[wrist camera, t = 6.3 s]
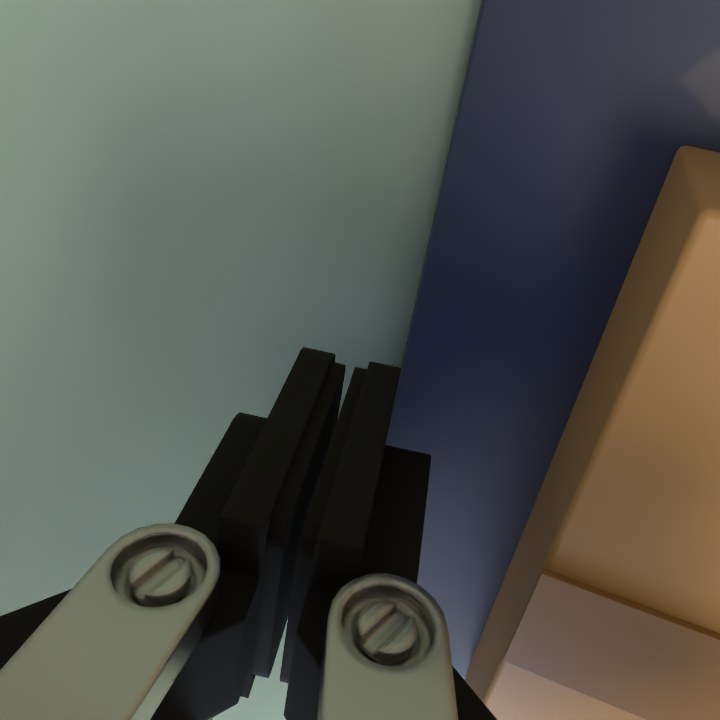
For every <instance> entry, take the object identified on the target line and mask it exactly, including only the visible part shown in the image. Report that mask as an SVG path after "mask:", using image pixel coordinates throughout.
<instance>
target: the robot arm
mask: <svg viewBox="0 0 720 720" xmlns="http://www.w3.org/2000/svg"><path fill="white" fill-rule="evenodd" d="M345 368H346V366H345V365H344V364H339V363H335V354H333V353H329V352H324V351H319V350H315V349H310V348H305V347H303V348H302V349H301V351H300V353H299V355H298V357H297V359H296V361H295V363H294V365H293V367H292V369H291V371H290V373H289V375H288V377H287V379H286V381H285V383H284V385H283V388H282V390H281V392H280V394H279V396H278V398H277V400H276V402H275V404H274V406H273V408H272V410H271V412H270V414H269V416H268V418H263V417H259V416H254V415H250V414H245V413H241V412H240V413H238V414H237V415H236V416H235V418H234V419H233V421H232V422H231V424H230V426H229V428H228V430H227V431H226V433H225V435H224V437H223V438H222V440H221V442H220V444H219V446H218V447H217V449H216V451H215V453H214V454H213V456H212V458H211V460H210V462H209V463H208V465H207V467H206V469H205V470H204V472H203V474H202V476H201V478H200V479H199V481H198V483H197V485H196V486H195V488H194V490H193V492H192V493H191V495H190V497H189V499H188V501H187V502H186V504H185V506H184V508H183V509H182V511H181V513H180V515H179V517H178V518H177V520H176V522H175V524H153V525H149V526H145V527H141V528H138V529H136V530H134V531H131V532H129V533H127V534H125V535H123V536H122V537H120V538H119V539H118V540H117V541H116V542H115V543H113V544H112V545H111V546H110V547H109V548H108V549H107V550H106V551H105V552H104V553H103V555H102V556H101V557H100V558H99V559H98V560H97V561H96V562H95V564H94V565H93V566H92V567H91V568H90V569H89V570H88V572H87V573H86V574H85V575H84V576H83V577H82V578H81V579H80V581H79V582H78V583H77V584H76V585H75V586H74V587H73V588H72V589H70V590H68V591H65V592H62V593H60V594H57V595H55V596H52V597H49V598H47V599H44V600H42V601H39V602H36V603H34V604H31V605H29V606H26V607H23V608H21V609H18V610H16V611H13V612H10V613H8V614H5V615H3V616H0V720H212V719H213V717H214V716H216V715H218V714H219V713H221V712H223V711H225V710H227V709H229V708H230V707H232V706H234V705H236V704H238V701H239V698H240V696H242V697H246V698H248V697H249V694H250V691H251V688H252V685H253V682H254V679H255V676H256V675H258V676H262V677H266V678H268V677H269V676H270V673H271V670H272V667H273V664H274V661H275V657H276V654H277V651H278V648H279V644H280V641H281V638H282V635H283V631H284V628H285V625H286V621H287V618H288V623H287V631H286V638H285V645H284V652H283V660H282V667H281V674H280V681H282V682H286V683H289V684H288V691H287V697H286V704H285V710H284V716H285V718H286V720H497V719H496V718H495V716H494V715H493V714H492V713H491V712H490V710H489V709H488V708H487V707H486V705H485V704H484V703H483V702H482V701H481V699H480V698H479V697H478V696H477V695H476V693H475V692H474V691H473V690H472V689H471V687H470V686H469V685H468V684H467V682H466V681H465V680H464V679H463V678H462V676H461V675H460V674H459V673H458V672H457V670H456V669H455V668H454V667H453V666H452V659H451V650H450V641H449V632H448V626H447V623H446V619H445V616H444V612H443V611H442V609H441V608H440V606H439V605H438V603H437V602H436V600H435V599H434V597H433V596H431V595H430V594H429V593H428V592H427V591H426V590H425V589H424V588H422V587H421V586H420V585H418V584H417V580H418V572H419V563H420V554H421V545H422V536H423V527H424V519H425V510H426V501H427V492H428V483H429V474H430V466H431V455H430V454H425V453H421V452H416V451H412V450H407V449H403V448H398V447H394V446H389V445H385V443H386V438H387V434H388V429H389V424H390V420H391V415H392V410H393V406H394V401H395V396H396V392H397V387H398V382H399V378H400V373H401V368H399V367H394V366H389V365H385V364H380V363H375V362H371V361H370V362H369V365H368V368H367V369H362V368H358V367H355V369H354V372H353V375H352V378H351V381H350V384H349V387H348V390H347V393H346V396H345V399H344V402H343V405H342V408H341V411H340V414H339V417H338V413H339V407H340V400H341V394H342V388H343V382H344V375H345ZM337 419H338V420H337ZM288 615H289V616H288Z"/></svg>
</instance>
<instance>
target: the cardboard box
mask: <svg viewBox="0 0 720 720" xmlns="http://www.w3.org/2000/svg"><path fill="white" fill-rule="evenodd" d="M465 681H466V682H467V684H468V685H469V686H470V687H471V689H472V690H473V691H474V692H475V693H476V695H477V696H478V697H479V698H480V699H481V701H482V702H483V703H484V704H485V705H486V707H487V708H488V709H489V710H490V712H491V713H492V714H493V715H494V716H495V718H496V719H497V720H720V153H719V152H714V151H710V150H705V149H701V148H696V147H692V146H681V147H680V148H679V149H678V150H677V152H676V154H675V157H674V159H673V162H672V164H671V167H670V169H669V172H668V174H667V176H666V179H665V181H664V184H663V186H662V189H661V191H660V194H659V196H658V199H657V201H656V204H655V206H654V209H653V211H652V214H651V216H650V219H649V221H648V224H647V226H646V229H645V231H644V233H643V236H642V238H641V241H640V243H639V246H638V248H637V251H636V253H635V256H634V258H633V261H632V263H631V266H630V268H629V271H628V273H627V276H626V278H625V281H624V283H623V286H622V288H621V290H620V293H619V295H618V298H617V300H616V303H615V305H614V308H613V310H612V313H611V315H610V318H609V320H608V323H607V325H606V328H605V330H604V333H603V335H602V338H601V340H600V343H599V345H598V347H597V350H596V352H595V355H594V357H593V360H592V362H591V365H590V367H589V370H588V372H587V375H586V377H585V380H584V382H583V385H582V387H581V390H580V392H579V395H578V397H577V399H576V402H575V404H574V407H573V409H572V412H571V414H570V417H569V419H568V422H567V424H566V427H565V429H564V432H563V434H562V437H561V439H560V442H559V444H558V447H557V449H556V452H555V454H554V456H553V459H552V461H551V464H550V466H549V469H548V471H547V474H546V476H545V479H544V481H543V484H542V486H541V489H540V491H539V494H538V496H537V499H536V501H535V504H534V506H533V509H532V511H531V513H530V516H529V518H528V521H527V523H526V526H525V528H524V531H523V533H522V536H521V538H520V541H519V543H518V546H517V548H516V551H515V553H514V556H513V558H512V561H511V563H510V566H509V568H508V570H507V573H506V575H505V578H504V580H503V583H502V585H501V588H500V590H499V593H498V595H497V598H496V600H495V603H494V605H493V608H492V610H491V613H490V615H489V618H488V620H487V623H486V625H485V627H484V630H483V632H482V635H481V637H480V640H479V642H478V645H477V647H476V650H475V652H474V655H473V657H472V660H471V662H470V665H469V667H468V670H467V674H466V679H465Z"/></svg>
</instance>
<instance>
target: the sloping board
mask: <svg viewBox="0 0 720 720" xmlns="http://www.w3.org/2000/svg"><path fill="white" fill-rule="evenodd" d="M681 146H692V147H696V148H701V149H705V150H710V151H714V152H719V153H720V0H482V1H481V6H480V10H479V15H478V19H477V24H476V28H475V33H474V37H473V42H472V46H471V51H470V55H469V60H468V64H467V69H466V73H465V78H464V83H463V87H462V92H461V96H460V101H459V105H458V110H457V114H456V119H455V123H454V128H453V132H452V137H451V141H450V146H449V151H448V155H447V160H446V164H445V169H444V173H443V178H442V182H441V187H440V191H439V196H438V200H437V205H436V209H435V214H434V219H433V223H432V228H431V232H430V237H429V241H428V246H427V250H426V255H425V259H424V264H423V268H422V273H421V277H420V282H419V287H418V291H417V296H416V300H415V305H414V309H413V314H412V318H411V323H410V327H409V332H408V336H407V341H406V345H405V350H404V355H403V359H402V364H401V373H400V378H399V382H398V387H397V392H396V396H395V401H394V406H393V410H392V415H391V420H390V424H389V429H388V434H387V438H386V443H385V445H389V446H394V447H398V448H403V449H407V450H412V451H416V452H421V453H425V454H430V455H431V466H430V474H429V483H428V492H427V501H426V510H425V519H424V527H423V536H422V545H421V554H420V563H419V572H418V580H417V584H418V585H420V586H421V587H422V588H424V589H425V590H426V591H427V592H428V593H429V594H430V595H431V596H433V597H434V599H435V600H436V602H437V603H438V605H439V606H440V608H441V609H442V611H443V612H444V616H445V619H446V623H447V626H448V632H449V641H450V650H451V659H452V666H453V667H454V668H455V669H456V670H457V672H458V673H459V674H460V675H461V676H462V678H463V679H464V680H465V679H466V674H467V670H468V667H469V665H470V662H471V660H472V657H473V655H474V652H475V650H476V647H477V645H478V642H479V640H480V637H481V635H482V632H483V630H484V627H485V625H486V623H487V620H488V618H489V615H490V613H491V610H492V608H493V605H494V603H495V600H496V598H497V595H498V593H499V590H500V588H501V585H502V583H503V580H504V578H505V575H506V573H507V570H508V568H509V566H510V563H511V561H512V558H513V556H514V553H515V551H516V548H517V546H518V543H519V541H520V538H521V536H522V533H523V531H524V528H525V526H526V523H527V521H528V518H529V516H530V513H531V511H532V509H533V506H534V504H535V501H536V499H537V496H538V494H539V491H540V489H541V486H542V484H543V481H544V479H545V476H546V474H547V471H548V469H549V466H550V464H551V461H552V459H553V456H554V454H555V452H556V449H557V447H558V444H559V442H560V439H561V437H562V434H563V432H564V429H565V427H566V424H567V422H568V419H569V417H570V414H571V412H572V409H573V407H574V404H575V402H576V399H577V397H578V395H579V392H580V390H581V387H582V385H583V382H584V380H585V377H586V375H587V372H588V370H589V367H590V365H591V362H592V360H593V357H594V355H595V352H596V350H597V347H598V345H599V343H600V340H601V338H602V335H603V333H604V330H605V328H606V325H607V323H608V320H609V318H610V315H611V313H612V310H613V308H614V305H615V303H616V300H617V298H618V295H619V293H620V290H621V288H622V286H623V283H624V281H625V278H626V276H627V273H628V271H629V268H630V266H631V263H632V261H633V258H634V256H635V253H636V251H637V248H638V246H639V243H640V241H641V238H642V236H643V233H644V231H645V229H646V226H647V224H648V221H649V219H650V216H651V214H652V211H653V209H654V206H655V204H656V201H657V199H658V196H659V194H660V191H661V189H662V186H663V184H664V181H665V179H666V176H667V174H668V172H669V169H670V167H671V164H672V162H673V159H674V157H675V154H676V152H677V150H678V149H679V148H680V147H681Z"/></svg>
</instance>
